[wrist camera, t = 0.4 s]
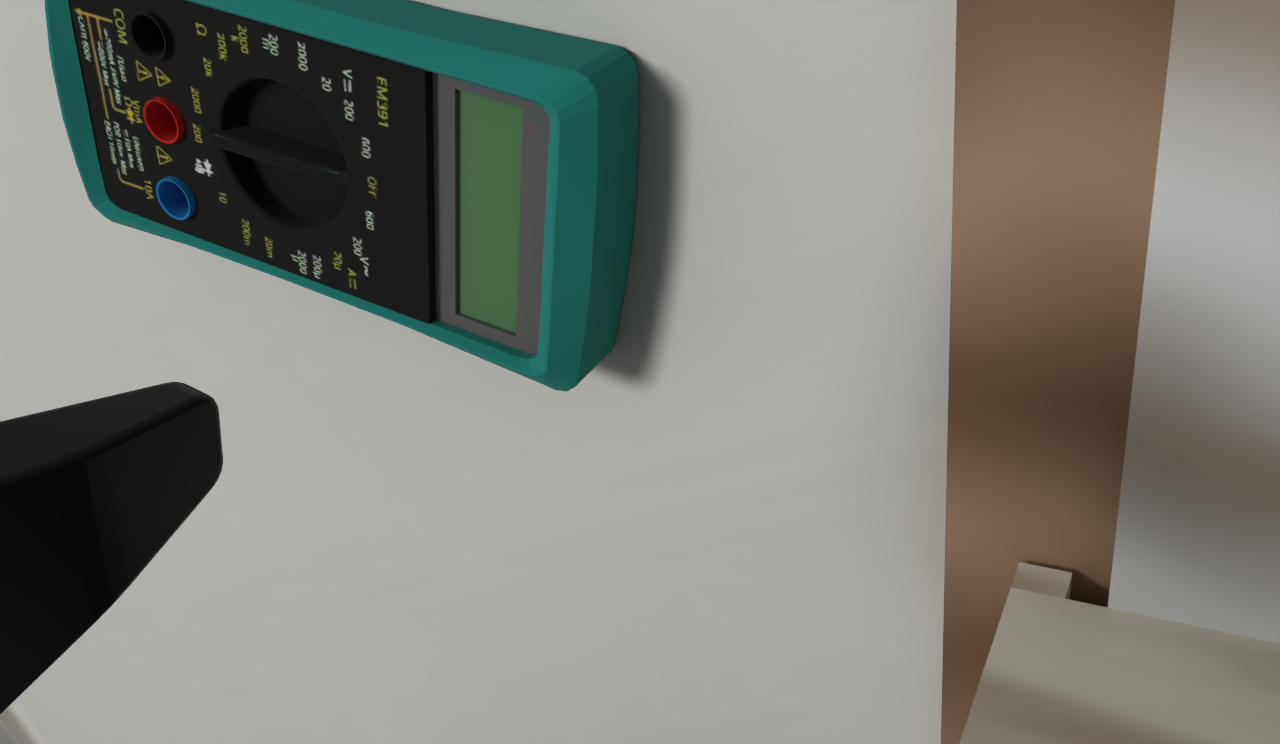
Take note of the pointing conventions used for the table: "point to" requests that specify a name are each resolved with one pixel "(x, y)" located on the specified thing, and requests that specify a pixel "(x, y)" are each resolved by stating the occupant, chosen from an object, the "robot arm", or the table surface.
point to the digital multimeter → (371, 159)
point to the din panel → (1114, 374)
